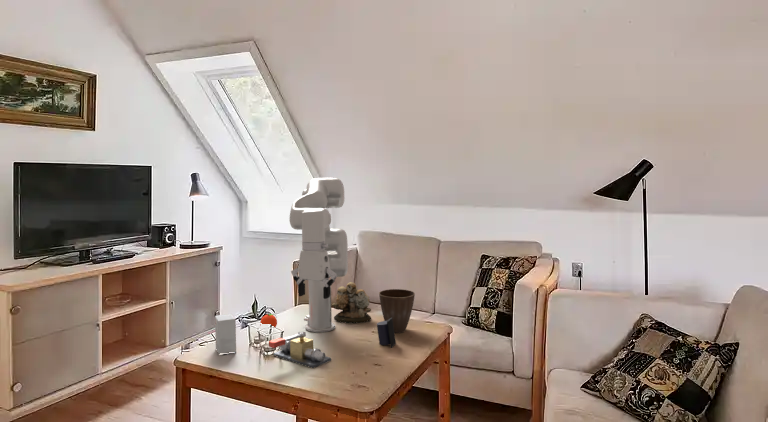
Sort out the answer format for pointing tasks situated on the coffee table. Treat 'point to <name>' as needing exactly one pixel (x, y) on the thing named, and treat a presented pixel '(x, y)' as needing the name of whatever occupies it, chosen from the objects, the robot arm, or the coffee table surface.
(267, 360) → the coffee table surface
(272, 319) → the clementine
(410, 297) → the plant pot
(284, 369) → the coffee table surface
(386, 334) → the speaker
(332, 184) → the robot arm
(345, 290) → the owl figurine
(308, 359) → the valve body
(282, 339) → the valve lever
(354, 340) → the coffee table surface
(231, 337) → the small box
